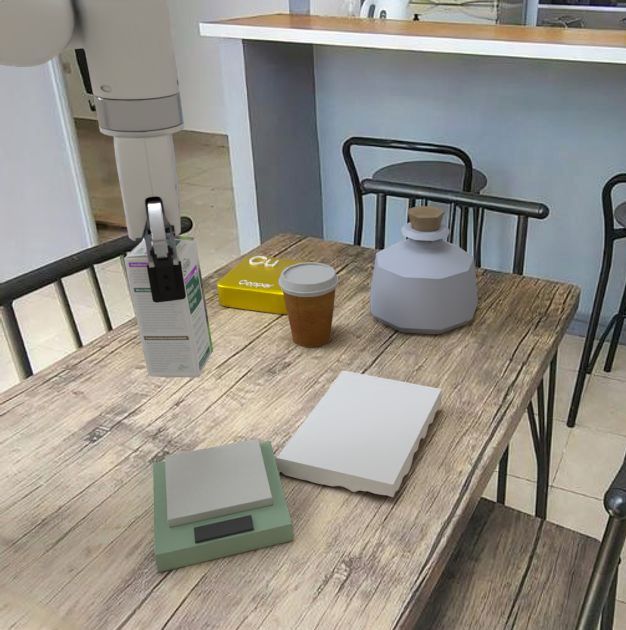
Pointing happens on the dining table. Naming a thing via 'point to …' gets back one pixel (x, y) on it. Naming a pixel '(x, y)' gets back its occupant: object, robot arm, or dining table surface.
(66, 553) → the dining table surface
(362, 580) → the dining table surface
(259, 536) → the scale
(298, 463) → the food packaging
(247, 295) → the element tile
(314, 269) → the disposable coffee cup
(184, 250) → the syrup box
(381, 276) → the bottle
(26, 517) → the dining table surface
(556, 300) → the dining table surface
